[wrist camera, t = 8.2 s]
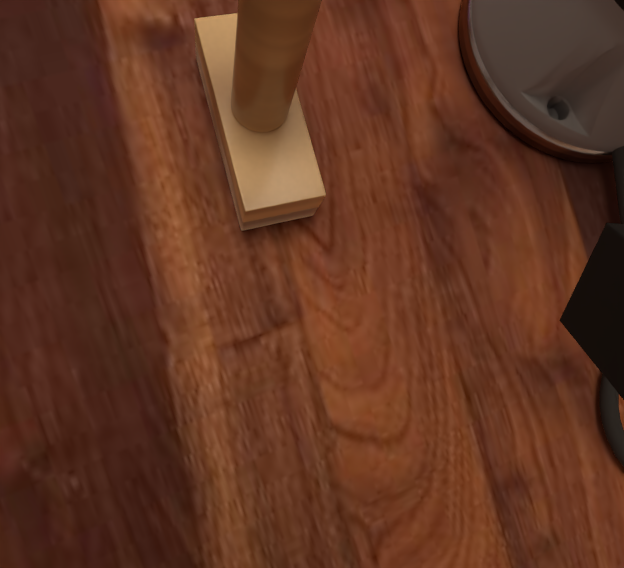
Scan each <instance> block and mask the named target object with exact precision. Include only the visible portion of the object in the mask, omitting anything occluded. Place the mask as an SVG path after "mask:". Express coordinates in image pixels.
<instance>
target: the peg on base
mask: <svg viewBox="0 0 624 568" xmlns="http://www.w3.org/2000/svg"><path fill="white" fill-rule="evenodd" d="M321 1H322V0H239V1H238V13H235V14H227V15H219V16H211V17H202V18H195V20H194V21H195V42H196V43H195V44H196V60H197V64H198V67H199V71H200V75H201V79H202V83H203V87H204V90H205V94H206V98H207V102H208V106H209V110H210V114H211V117H212V121H213V125H214V129H215V133H216V137H217V140H218V144H219V148H220V152H221V156H222V160H223V163H224V167H225V171H226V175H227V179H228V183H229V187H230V190H231V194H232V198H233V202H234V206H235V210H236V213H237V217H238V221H239V225H240V229H241V230H242V231H243V230H248V229H253V228H258V227H262V226H267V225H272V224H276V223H281V222H286V221H290V220H295V219H300V218H304V217H309V216H313V215H314V214H315V212H316V210H317V209H318V207H319V206H320V204H321V203H322V201H323V199H324V198H325V196H326V192H325V189H324V185H323V182H322V178H321V174H320V171H319V167H318V164H317V160H316V157H315V153H314V150H313V146H312V143H311V139H310V136H309V132H308V129H307V125H306V122H305V118H304V115H303V111H302V108H301V104H300V100H299V97H298V93H297V90H296V86H297V82H298V79H299V76H300V72H301V69H302V65H303V62H304V59H305V55H306V52H307V48H308V45H309V42H310V38H311V35H312V31H313V28H314V25H315V21H316V18H317V14H318V11H319V8H320V4H321Z"/></svg>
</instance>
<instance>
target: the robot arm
mask: <svg viewBox="0 0 624 568" xmlns="http://www.w3.org/2000/svg"><path fill="white" fill-rule="evenodd" d="M459 41H460V47H461V53H462V57H463V60H464V64H465V67H466V69H467V72H468V75H469V77H470V79H471V81H472V83H473V85H474V87H475V89H476V91H477V92H478V94H479V96H480V97H481V99H482V100H483V102H484V103H485V105H486V106H487V107H488V109H489V110H490V111H491V112H492V113H493V114H494V116H495V117H496V118H497V119H498V120H499V121H500V122H501V123H502V124H503V125H504V126H505V127H506V128H507V129H509V130H510V131H511V132H512V133H513V134H515V135H516V136H517V137H519V138H520V139H521V140H523V141H524V142H526V143H528V144H529V145H531V146H533V147H534V148H536V149H538V150H540V151H543V152H545V153H547V154H549V155H552V156H555V157H558V158H561V159H565V160H569V161H574V162H581V163H604V162H610V161H613V166H614V174H615V182H616V190H617V198H618V206H619V215H620V223H621V224H617V223H606V225H605V227H604V229H603V231H602V233H601V236H600V238H599V240H598V242H597V244H596V246H595V248H594V250H593V252H592V254H591V256H590V258H589V260H588V263H587V265H586V267H585V269H584V271H583V273H582V275H581V277H580V279H579V281H578V283H577V285H576V287H575V289H574V292H573V294H572V296H571V298H570V300H569V302H568V304H567V306H566V308H565V310H564V312H563V314H562V316H561V319H560V321H561V323H562V324H563V325H564V326H565V328H566V329H567V330H568V331H569V333H570V334H571V335H572V336H573V338H574V339H575V340H576V341H577V342H578V344H579V345H580V346H581V347H582V349H583V350H584V351H585V352H586V354H587V355H588V356H589V357H590V359H591V360H592V361H593V362H594V364H595V365H596V366H597V367H598V368H599V370H600V371H601V372H602V373H603V374H602V378H601V385H600V413H601V420H602V424H603V428H604V431H605V434H606V438H607V440H608V442H609V444H610V446H611V448H612V450H613V452H614V454H615V456H616V458H617V459H618V460H619V462H620V463H621V464H622V465H623V467H624V430H623V427H622V423H621V420H620V413H619V394H620V396H621V397H622V398H623V399H624V0H462V5H461V9H460V16H459Z"/></svg>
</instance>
